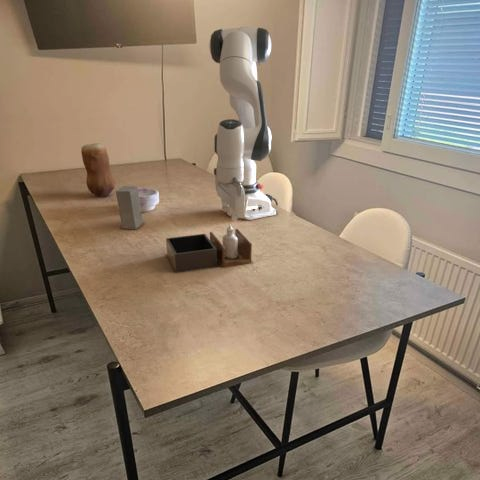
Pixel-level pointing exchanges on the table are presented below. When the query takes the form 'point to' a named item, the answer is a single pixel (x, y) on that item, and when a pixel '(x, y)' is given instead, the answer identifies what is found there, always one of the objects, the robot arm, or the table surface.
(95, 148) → the butternut squash
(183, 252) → the dark grey open box
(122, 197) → the cosmetic box
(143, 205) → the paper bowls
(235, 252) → the eye dropper bottle
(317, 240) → the table surface
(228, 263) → the wooden shelf
